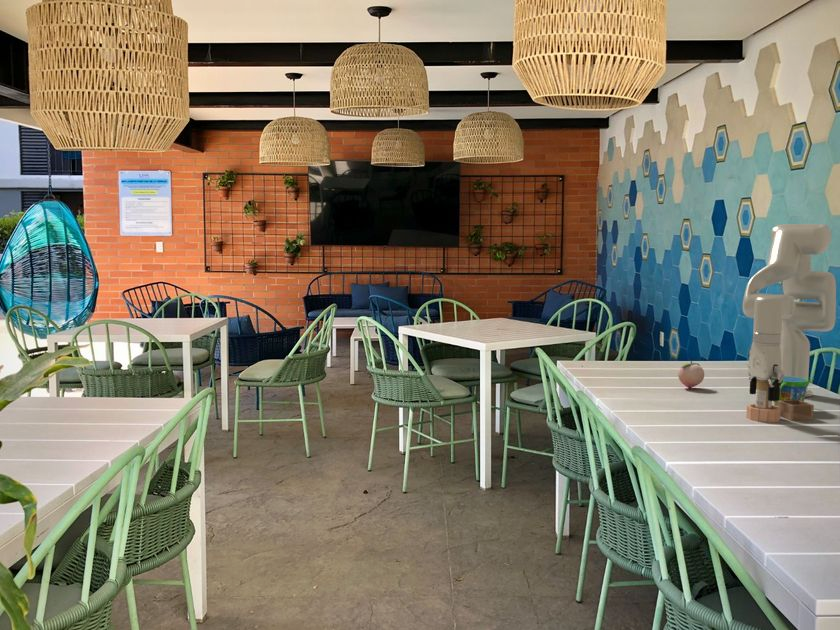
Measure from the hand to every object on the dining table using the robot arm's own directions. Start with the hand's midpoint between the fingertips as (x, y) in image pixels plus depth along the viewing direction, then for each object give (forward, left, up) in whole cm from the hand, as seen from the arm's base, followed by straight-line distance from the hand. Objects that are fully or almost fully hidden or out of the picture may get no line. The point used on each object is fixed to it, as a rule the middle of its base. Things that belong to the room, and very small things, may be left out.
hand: (764, 397), depth 238 cm
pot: (0, 0, -7) cm, 7 cm away
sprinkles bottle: (0, 0, -6) cm, 6 cm away
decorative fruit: (-49, +2, -7) cm, 50 cm away
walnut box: (0, +10, -7) cm, 12 cm away
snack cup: (-11, +15, -7) cm, 20 cm away
